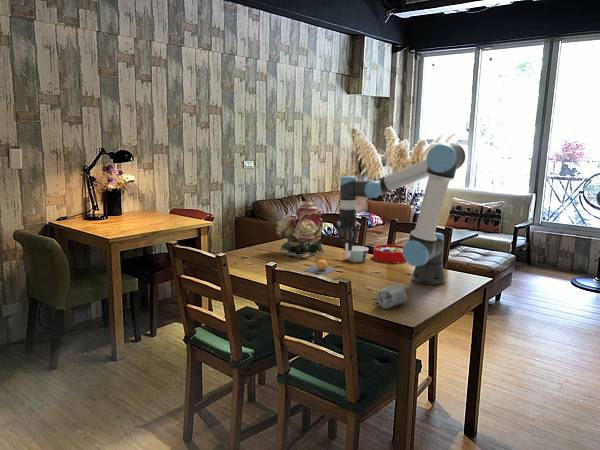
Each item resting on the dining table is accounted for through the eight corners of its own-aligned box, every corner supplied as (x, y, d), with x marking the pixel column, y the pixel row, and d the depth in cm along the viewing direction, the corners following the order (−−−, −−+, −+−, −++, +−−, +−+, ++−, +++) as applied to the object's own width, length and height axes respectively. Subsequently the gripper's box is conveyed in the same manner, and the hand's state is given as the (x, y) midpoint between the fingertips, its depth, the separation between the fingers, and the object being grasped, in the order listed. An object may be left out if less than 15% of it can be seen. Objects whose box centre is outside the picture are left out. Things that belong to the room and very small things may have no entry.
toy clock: (408, 245, 290) (412, 253, 270) (408, 255, 291) (411, 264, 271) (373, 244, 292) (374, 251, 272) (372, 254, 293) (373, 262, 273)
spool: (390, 305, 193) (387, 280, 196) (372, 310, 200) (369, 285, 203) (414, 307, 201) (410, 283, 204) (396, 312, 208) (393, 288, 211)
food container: (341, 259, 279) (341, 247, 278) (357, 256, 286) (357, 244, 285) (356, 263, 269) (357, 251, 268) (372, 260, 277) (373, 248, 275)
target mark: (336, 269, 258) (336, 268, 258) (326, 274, 247) (326, 274, 247) (314, 266, 263) (314, 265, 263) (304, 271, 253) (304, 270, 253)
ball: (325, 271, 257) (331, 262, 255) (321, 273, 252) (326, 265, 250) (317, 264, 259) (322, 256, 256) (312, 267, 254) (317, 258, 252)
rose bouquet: (271, 250, 298) (271, 199, 293) (316, 246, 309) (317, 197, 304) (287, 260, 275) (287, 205, 269) (335, 256, 286) (336, 203, 281)
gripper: (363, 208, 243) (363, 256, 247) (338, 207, 249) (338, 254, 253) (357, 210, 237) (357, 259, 241) (332, 208, 243) (332, 257, 247)
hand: (347, 256), depth 247 cm, fingers closed
